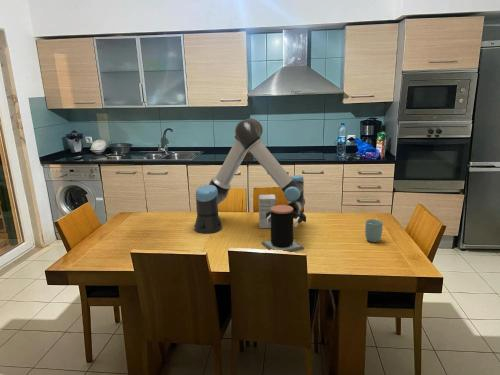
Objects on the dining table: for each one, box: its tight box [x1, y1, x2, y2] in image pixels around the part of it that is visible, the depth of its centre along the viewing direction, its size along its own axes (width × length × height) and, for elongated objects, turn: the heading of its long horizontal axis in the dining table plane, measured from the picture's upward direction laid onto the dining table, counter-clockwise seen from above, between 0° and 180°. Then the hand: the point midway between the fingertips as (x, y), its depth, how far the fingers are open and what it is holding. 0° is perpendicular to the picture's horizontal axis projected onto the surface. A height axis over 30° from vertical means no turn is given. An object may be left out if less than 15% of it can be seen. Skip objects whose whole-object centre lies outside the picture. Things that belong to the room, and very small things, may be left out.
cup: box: [364, 218, 384, 243], centre depth 181 cm, size 8×8×10 cm
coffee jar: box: [270, 204, 294, 248], centre depth 176 cm, size 11×11×18 cm
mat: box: [261, 239, 305, 253], centre depth 178 cm, size 15×15×1 cm
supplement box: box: [258, 194, 277, 229], centre depth 205 cm, size 10×9×17 cm
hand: (281, 222), depth 173 cm, fingers open, 13 cm apart
